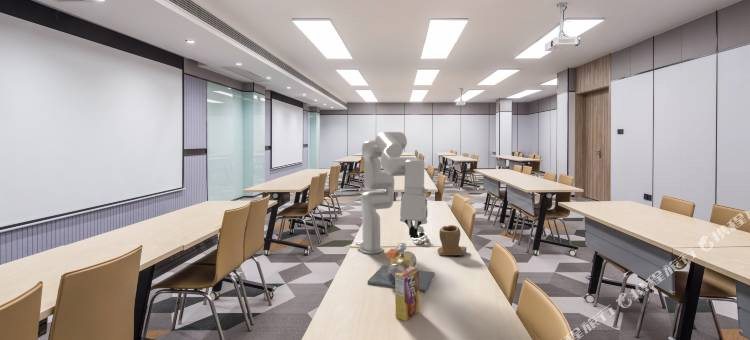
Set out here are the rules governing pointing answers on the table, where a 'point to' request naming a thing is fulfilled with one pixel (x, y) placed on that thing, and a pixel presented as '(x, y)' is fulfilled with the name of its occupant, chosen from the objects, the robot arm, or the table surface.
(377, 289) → the table surface
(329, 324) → the table surface
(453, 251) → the stone cup
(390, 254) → the valve lever
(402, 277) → the candy box
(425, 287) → the valve body
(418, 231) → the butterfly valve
